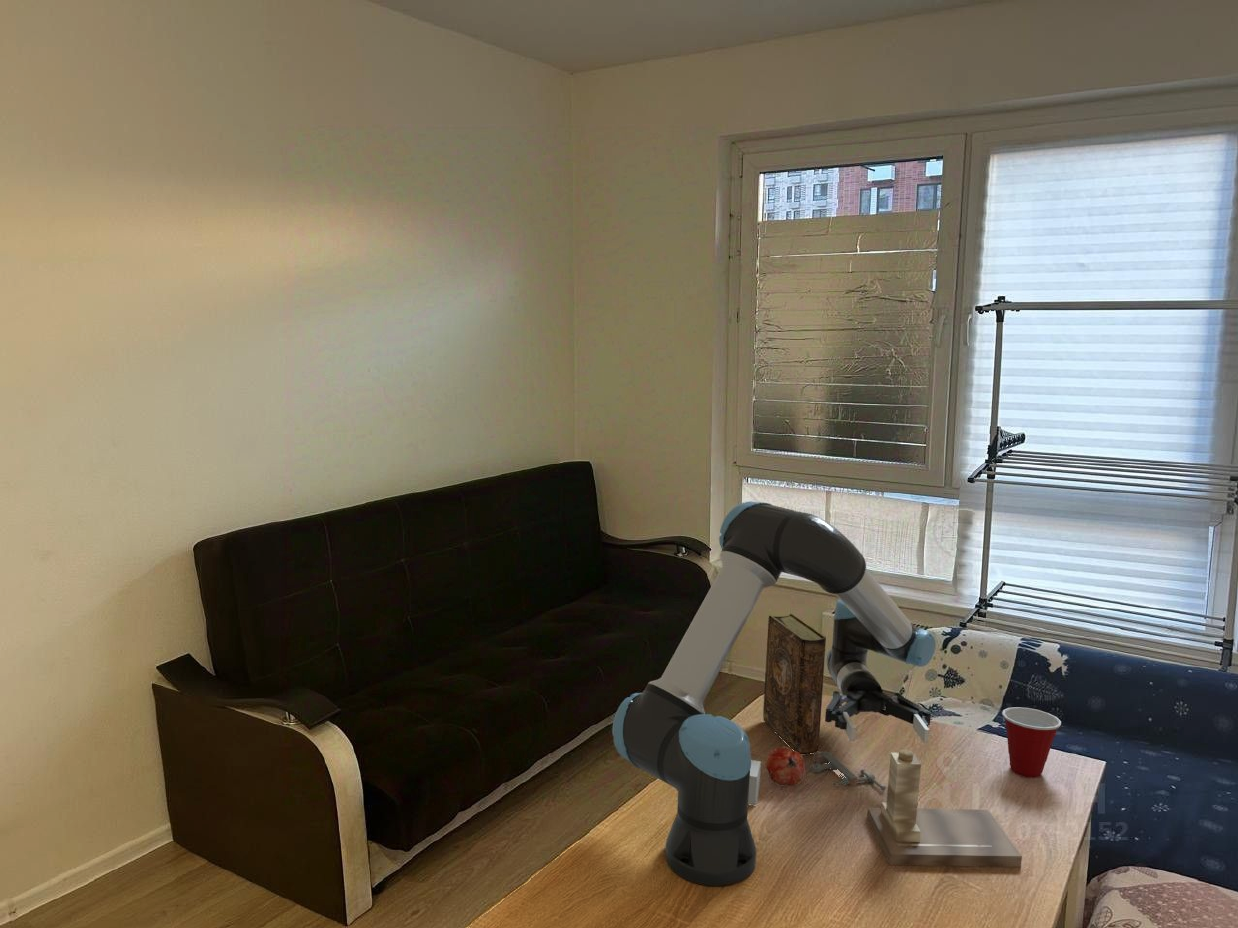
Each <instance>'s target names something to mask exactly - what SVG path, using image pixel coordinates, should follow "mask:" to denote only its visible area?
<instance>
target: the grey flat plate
mask: <svg viewBox="0 0 1238 928" xmlns="http://www.w3.org/2000/svg"><path fill="white" fill-rule="evenodd" d="M881 809H882V807H867V815H866V816H867V817H866V819H867V820H868V822H869V825H870V827H871V829H872V831H873V833H874V835H875V837H876V839H877V842H878V843H879V845H880V848H881V850H882V852H883V854H884V856H885V858H886V860H887V862H888V865H889V866H927V867H928V866H929V867H930V866H932V867H934V866H935V867H937V866H939V867H985V868H986V867H989V868H991V867H992V868H993V867H994V868H995V867H996V868H1021V867H1022V862H1023V861H1022V859H1023V855H1022V854H1021V853H1020V851H1019V850H1018V849H1017V847H1016V846H1015V844H1014V843H1013V842H1012V840H1011V839H1010V838H1009V836H1008V835H1007V833H1006V832H1005V831H1004V829H1003V828H1002V827H1001V825H1000V824H999V822H998V821H997V820H996V818H995V816H994V815H993V814H992V813H991V812H990V810H989V809H967V808H966V809H964V808H963V809H961V808H960V809H958V808H956V809H955V808H954V809H953V808H917V816H916V824H917V826H918V828H919V829H920V831H921V833H920V842H896V840H895V838H894V836H893V834H892V832H891V830H890V828H889V827H888V825H887V823H886V821H885V819H884V817H883V815H882V813H881Z"/></svg>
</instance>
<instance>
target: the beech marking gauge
mask: <svg viewBox="0 0 1238 928" xmlns="http://www.w3.org/2000/svg"><path fill="white" fill-rule="evenodd" d="M889 756H890V758H889V759H890V760H889V767H888V769H889V770H888V782H887V794H886V795H887V796H886V802H883V801H882V802H881V808H882V809H881V813H882V815H883V817H884V819H885V821H886V823H887V825H888V827H889V828H890V830H891V832H892V834H893V836H894V838H895V840H896V842H920V833H921V831H920V829H919V828H918V826H917V824H916V816H917V809H918V803H919V802H918V801H919V792H920V791H919V790H920V781H921V780H920V779H921V766H922V764H921V762H920V761H919V759H918V758H917V756H916V755H915V753H914V752H913V751H911V750H909V749H900V750H899V751H898V752H890V755H889Z"/></svg>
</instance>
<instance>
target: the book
mask: <svg viewBox="0 0 1238 928" xmlns="http://www.w3.org/2000/svg"><path fill="white" fill-rule="evenodd" d="M766 640H767V641H766V658H765V675H764V689H763V692H764V694H763V709H762V710H763V711H762V717H763V718H762V719H763V722H764V721H765V722H764V723H765V724H766V723H767V724H766V725H767V726H768V728H769V729H771V728H772V729H771V730H772V731H773V733H775V732H776V733H777V734H776V733H775V734H776V735H777V736H778V735H779V736H780V737H781V738H782V739H783V740H784V741H785V742H786V743H787V744H788V745H789V746H790V747H791V748H792V749H793V750H794V751H797V752H799V753H800V754H810V753H814V752H817V751H818V752H819V748H820V747H819V746H820V732H821V722H822V721H821V719H822V716H821V715H822V703H823V687H824V674H825V672H824V671H825V658H826V657H825V656H826V642H827V636H826V635H824V634H823V633H821V632H820V631H818V629H816V628H814V627H813V626H811V625H810V624H808V623H807V622H805V621H804V620H803V619H802V618H800V617H798V616H797V615H795V614H794V613H789V614H788V615H786V616H775V615H772V614H771V615H768V623H767V639H766ZM779 736H778V737H779ZM780 737H779V738H780ZM781 738H780V739H781ZM782 739H781V740H782ZM783 740H782V741H783ZM784 741H783V742H784ZM785 742H784V743H785ZM786 743H785V744H786ZM787 744H786V745H787ZM788 745H787V746H788ZM789 746H788V747H789ZM790 747H789V748H790ZM791 748H790V749H791ZM792 749H791V750H792ZM810 755H811V754H810Z"/></svg>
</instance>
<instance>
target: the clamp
mask: <svg viewBox="0 0 1238 928" xmlns="http://www.w3.org/2000/svg"><path fill="white" fill-rule="evenodd" d="M813 760H815V761H814V762H816V761H817V762H816V763H815V764H810V766H809V770H810V771H811V772H812V773H814V774H815V773H821V772H823V770H828V769H829V770H831V769H832V770H837V769H838V770H839V771H840V772H841V773H843V774H844V776H845V777H846V778H845V777H844V776H842V775H841V774H840V775H841V776H842V777H841V776H840V775H839V776H840V777H839V778H840V779H841V781H838V782H834V786H835V787H837V786H846V785H847V786H849V787H851V788H853V787H856V786H858V785H857V784H858V783H863V782H867V783H871V782H873V783H874V784H875V785H876V786H877V787H878V788H880V791H883V792H884V791H886V786H885V785H882V784H880V783H879V782H878V781H877V780H876V777H875V775H874V774H872V773H871V774H868V773H867V772H866V771H865V769H863V768H862V769H861V770H860V774H861V775H864V777H863V776H862V777H858V776H857V775H856V774H854V773H853V772H852V771H851V770H850V769H849V768H847V767H846V766H845V765H844V764H843V763H842V762H840V761H839V760H838V759H837V758H835V757H834V756H833V755H832V754H831V753H830V752H828V751H827V750H825V751H818V752H814V754H813ZM813 760H812V761H813ZM829 762H830V763H829ZM822 763H823V764H822ZM824 763H827V764H824ZM828 763H829V764H828ZM830 768H831V769H830ZM832 770H831V771H832ZM833 773H834V774H835V772H833ZM836 776H837V777H838V775H836ZM843 777H844V778H843ZM842 778H843V779H842Z"/></svg>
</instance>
